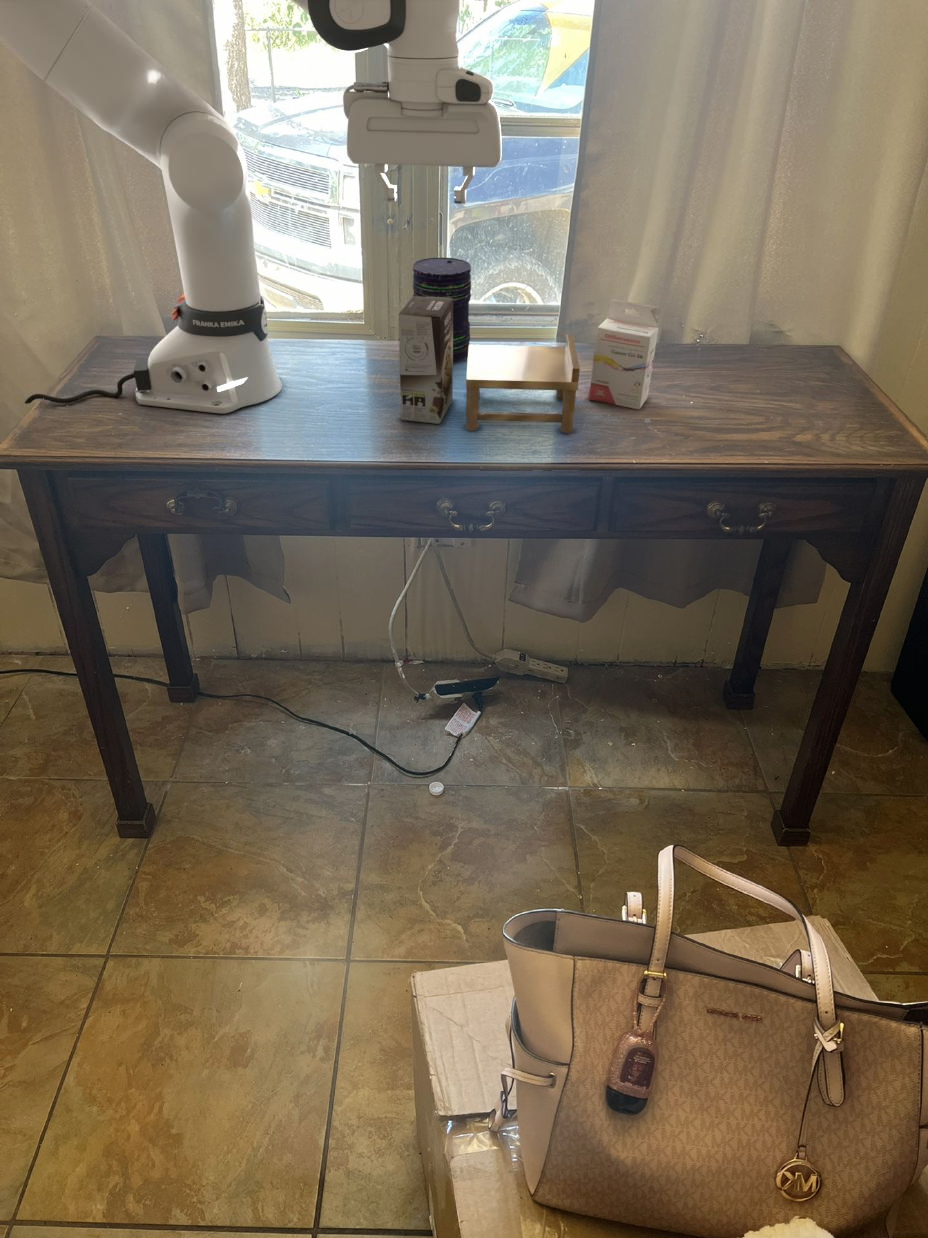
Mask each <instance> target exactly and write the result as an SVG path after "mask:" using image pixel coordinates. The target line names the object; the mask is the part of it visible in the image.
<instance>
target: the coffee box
mask: <svg viewBox="0 0 928 1238" xmlns="http://www.w3.org/2000/svg"><path fill="white" fill-rule="evenodd" d="M398 345H399V346H398V347H399V349H398V350H399V351H398V352H399V384H400V385H399V390H400V391H399V392H400V394H399V395H400V420H401V421H410V422H418V423H426V424H435V425H440V424H441V423H442V421H443V419H444V418H445V415H446V414H447V412H448V410H449V408H450V406H451V404H452V402H453V400H454V399H453V395H454V394H453V392H454V390H453V389H454V380H453V379H454V371H453V370H454V363H453V298H444V297H420V296H413V295H412V296H411V298H410V299H409V300H408V302H407V303H406V304H405V305H404V307H402V308H401V310H400V312H399V313H398Z"/></svg>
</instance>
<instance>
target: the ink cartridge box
mask: <svg viewBox="0 0 928 1238" xmlns="http://www.w3.org/2000/svg"><path fill="white" fill-rule="evenodd" d="M607 306H608V307H607V317H606V318H605V319H604V321H602V322H601V323H600V325H598V326H597V328H596V337H595V343H594V350H593V359H592V369H591V377H590V385H589V394H588V399H589V400H591V401H596V402H601V403H606V404H611V405H615V406H620V407H624V408H629V409H635V410H640V409H641V408H642V407H643V405H644V404H645V402H646V400H647V399H648V397H649V393H650V392H649V391H650V383H651V379H652V373H653V372H652V371H653V366H654V359H655V352H656V347H657V341H658V340H657V339H658V334H659V329H660V328H659V320H660V319H659V318H660V313H661V312H660V311H661V309H660V307H659V306H657V305H656V306H654V305H649V304H644V303H637V302H632V301H625V300H618V299H615V298H614V299H613V298H611V299H609V301H608V305H607ZM626 310H629V311H631V310H635V311H636V312H640V313H641V315H639V314H634V313H628V312H626Z"/></svg>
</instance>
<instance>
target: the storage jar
mask: <svg viewBox="0 0 928 1238" xmlns="http://www.w3.org/2000/svg"><path fill="white" fill-rule="evenodd" d="M412 272H413V273H412V290H413V291H412V292H413V293H412V297H413V296H420V297H444V298H453V364H457V363H461V362H463V361H465V360H467V359H468V346H469V345H470V342H471V322H470V320H469V319H470V318H469V315H470V301H471V297H472V294H471V290H472V275H471V272H472V265H471V263H469V262H468V261H467V260H464V259H459V258H455V257H442V256H441V257H428V258H423V259H419V260H417V261H415V262H413V264H412Z"/></svg>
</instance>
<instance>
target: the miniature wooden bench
mask: <svg viewBox="0 0 928 1238" xmlns="http://www.w3.org/2000/svg"><path fill="white" fill-rule="evenodd" d="M579 363H580V362H579V358H578V354H577V347H576V343H575V338H574V334H573V333H566V336H565V346H551V345H550V346H549V345H548V346H546V345H544V346H543V345H510V344H509V345H505V344H469V346H468V358H467V359H466V374H465V375H466V376H465V388H466V403H465V404H466V408H465V410H466V411H465V412H466V413H465V420H466V421H465V429H466V430H467V431H469V432H476V431H478V430H479V422H510V423H511V422H514V423H518V422H519V423H549V424H550V423H555V424H556V423H557V424H559V423H560V427H559V428H560V429H559V430H560V433H562V434H571V433H573V428H574V417H575V409H576V399H577V391H579V382H580V381H579V380H580V370H581V368H580V364H579ZM481 389H490V390H491V389H492V390H493V389H495V390H532V391H556V392H555V399H556V400H558V401H562V406H561V413H537V412H536V413H534V412H504V411H503V412H499V411H497V412H495V411H480V410H479V409H480V407H479V405H480V395H481V394H480V392H481V391H480V390H481Z"/></svg>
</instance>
